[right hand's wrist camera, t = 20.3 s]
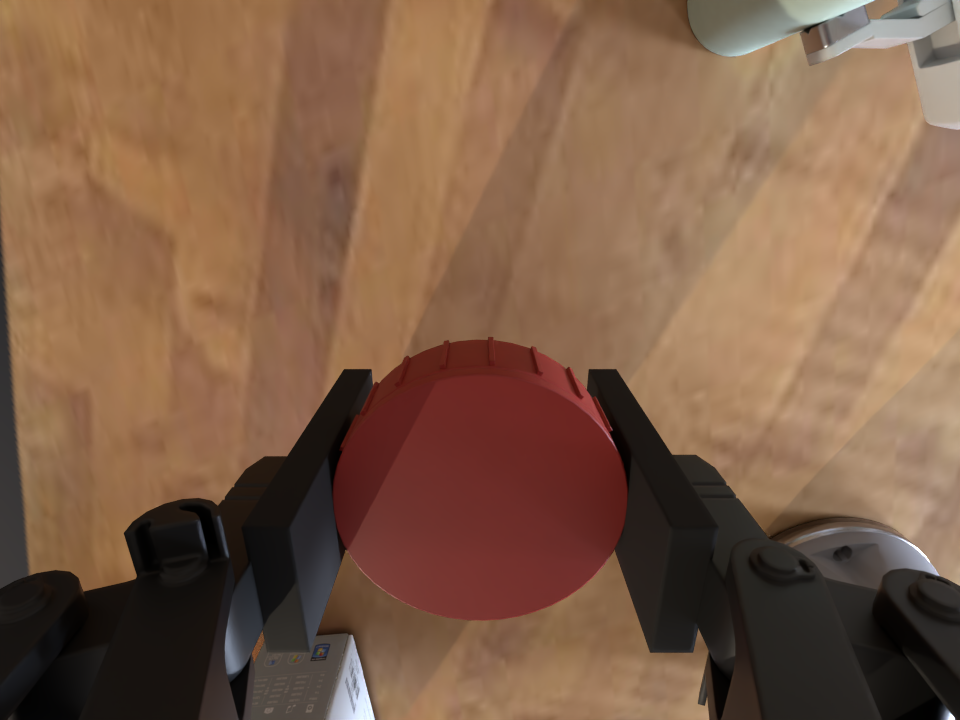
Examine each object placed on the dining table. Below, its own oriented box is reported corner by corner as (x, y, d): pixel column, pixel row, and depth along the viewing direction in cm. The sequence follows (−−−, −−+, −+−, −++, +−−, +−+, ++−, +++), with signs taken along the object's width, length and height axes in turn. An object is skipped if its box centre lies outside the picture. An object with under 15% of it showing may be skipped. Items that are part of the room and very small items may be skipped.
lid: (336, 533, 13) (312, 596, 11) (373, 308, 11) (351, 339, 9) (565, 576, 14) (579, 643, 12) (644, 369, 12) (677, 410, 10)
